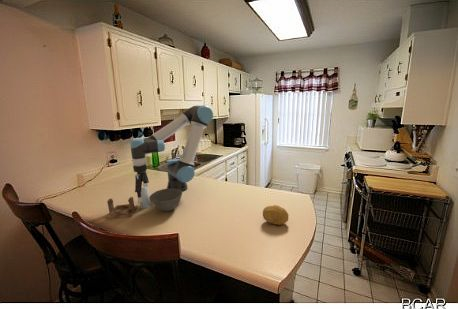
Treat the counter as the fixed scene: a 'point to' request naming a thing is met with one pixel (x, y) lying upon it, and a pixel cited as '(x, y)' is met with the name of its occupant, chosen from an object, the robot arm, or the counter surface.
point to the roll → (145, 198)
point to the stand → (121, 209)
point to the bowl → (166, 198)
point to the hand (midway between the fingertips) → (143, 197)
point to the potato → (275, 215)
